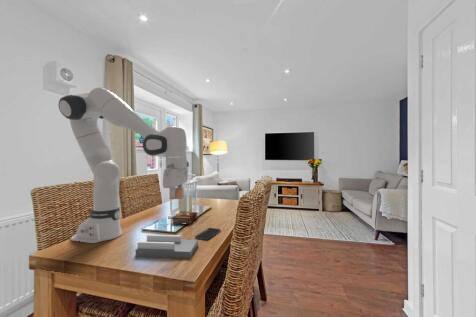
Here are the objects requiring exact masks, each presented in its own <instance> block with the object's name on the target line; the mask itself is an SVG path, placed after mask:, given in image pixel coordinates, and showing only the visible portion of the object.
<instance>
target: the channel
mask: <svg viewBox="0 0 476 317" xmlns="http://www.w3.org/2000/svg"><path fill="white" fill-rule="evenodd" d="M136 244H137V248H136V249H135V257H149V258H150V257H152V258H156V257H158V258H178V259H179V258H181V259H182V258H183V259H186V258H187V259H190V258H192V256H193V254H194V253H195V251H196V249H197V248H198V246H199V239H182V235H180V234H179V235H177V234H176V235H175V234H147V235H146V241H141V240H139V241H137V243H136Z"/></svg>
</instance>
